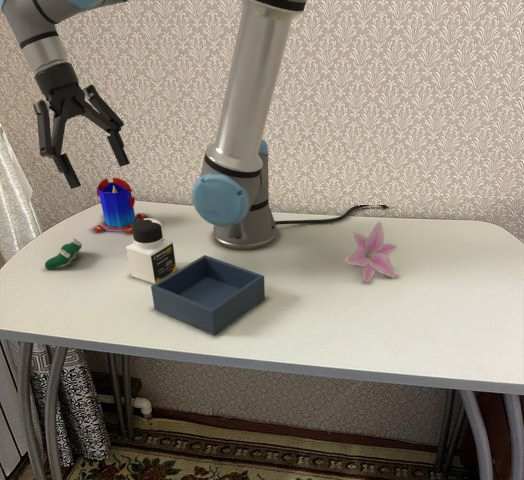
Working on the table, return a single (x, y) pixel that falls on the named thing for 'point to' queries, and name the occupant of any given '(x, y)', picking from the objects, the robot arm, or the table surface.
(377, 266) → the lily
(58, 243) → the table surface
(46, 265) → the gaming controller
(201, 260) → the tote
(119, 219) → the fantasy tower
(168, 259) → the medicine bottle
